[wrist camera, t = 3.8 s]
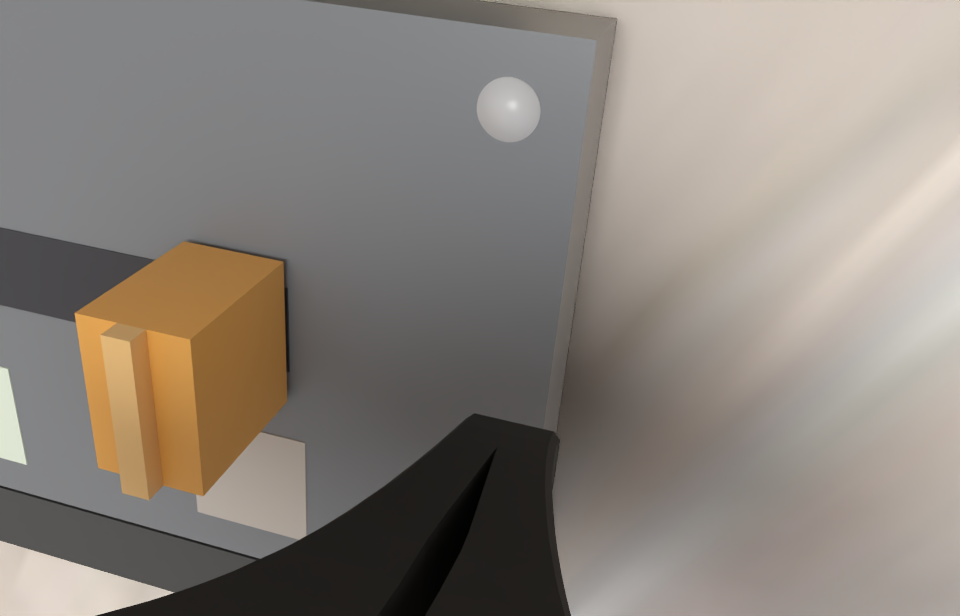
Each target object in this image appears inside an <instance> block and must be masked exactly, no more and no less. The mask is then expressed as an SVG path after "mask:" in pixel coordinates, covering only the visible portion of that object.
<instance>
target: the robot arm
mask: <svg viewBox="0 0 960 616" xmlns="http://www.w3.org/2000/svg"><path fill="white" fill-rule="evenodd" d="M559 443H560V439H559V438H558V436H557V435H556V434H555V432H554V431H550V430H546V429H541V428H537V427H532V426H528V425H524V424H519V423H515V422H511V421H506V420H502V419H498V418H493V417H489V416H485V415H480V414H476V413H474V414H472V415H471V416H469V417H467V418H466V419H465V420H464V421H463V422H461V423H460V424H459V425H458V426H457V427H456V428H455V429H454V430H452V431H451V432H450V433H449V434H448V435H447V436H446V437H445V438H443V439H442V440H441V441H440V442H439V443H438V444H436V445H435V446H434V447H433V448H432V449H430V450H429V451H428V452H427V453H426V454H424V455H423V456H422V457H421V458H420V459H418V460H417V461H416V462H414V463H413V464H412V465H411V466H409V467H408V468H407V469H405V470H404V471H403V472H402V473H400V474H399V475H398V476H396V477H395V478H394V479H393V480H391V481H390V482H389V483H387V484H386V485H385V486H383V487H382V488H380V489H379V490H378V491H376V492H375V493H373V494H372V495H370V496H369V497H367V498H366V499H364V500H363V501H361V502H360V503H359V504H357V505H356V506H354V507H353V508H351V509H350V510H348V511H347V512H345V513H344V514H342V515H341V516H339V517H337V518H336V519H334V520H333V521H331V522H329V523H328V524H326V525H324V526H323V527H321V528H319V529H318V530H316V531H314V532H312V533H310V534H309V535H307V536H305V537H303V538H301V539H300V540H298V541H296V542H294V543H292V544H290V545H289V546H287V547H285V548H282V549H280V550H278V551H276V552H274V553H272V554H270V555H268V556H265V557H263V558H261V559H259V560H257V561H254V562H252V563H250V564H248V565H246V566H243V567H241V568H239V569H237V570H235V571H232V572H230V573H227V574H225V575H222V576H220V577H217V578H214V579H212V580H209V581H207V582H204V583H201V584H199V585H196V586H193V587H190V588H187V589H184V590H181V591H179V592H176V593H173V594H170V595H167V596H164V597H161V598H157V599H154V600H151V601H148V602H144V603H141V604H137V605H133V606H130V607H126V608H122V609H119V610H115V611H111V612H108V613H104V614H100V615H97V616H571V614H570V610H569V606H568V602H567V598H566V594H565V589H564V585H563V580H562V575H561V569H560V563H559V557H558V551H557V544H556V536H555V527H554V514H553V500H552V490H553V483H554V476H555V470H556V463H557V456H558V450H559Z"/></svg>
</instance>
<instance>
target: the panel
mask: <svg viewBox="0 0 960 616" xmlns="http://www.w3.org/2000/svg"><path fill="white" fill-rule="evenodd" d="M616 22H617V19H614V18H607V17H599V16H591V15H584V14H576V13H568V12H561V11H553V10H546V9H538V8H530V7H523V6H515V5H507V4H500V3H492V2H485V1H477V0H0V485H1V486H4V487H8V488H12V489H15V490H19V491H22V492H26V493H29V494H33V495H36V496H40V497H43V498H47V499H51V500H54V501H58V502H61V503H65V504H68V505H72V506H75V507H79V508H82V509H86V510H89V511H93V512H97V513H100V514H104V515H107V516H111V517H114V518H118V519H121V520H125V521H128V522H132V523H136V524H139V525H143V526H146V527H150V528H153V529H157V530H160V531H164V532H167V533H171V534H175V535H178V536H182V537H185V538H189V539H192V540H196V541H199V542H203V543H206V544H210V545H213V546H217V547H221V548H224V549H228V550H231V551H235V552H238V553H242V554H245V555H249V556H252V557H256V558H260V559H261V558H263V557H265V556H268V555H270V554H272V553H274V552H276V551H278V550H280V549H282V548H285V547H287V546H289V545H290V544H292V543H294V542H296V541H298V540H300V539H301V538H303V537H305V536H307V535H309V534H310V533H312V532H314V531H316V530H318V529H319V528H321V527H323V526H324V525H326V524H328V523H329V522H331V521H333V520H334V519H336V518H337V517H339V516H341V515H342V514H344V513H345V512H347V511H348V510H350V509H351V508H353V507H354V506H356V505H357V504H359V503H360V502H361V501H363V500H364V499H366V498H367V497H369V496H370V495H372V494H373V493H375V492H376V491H378V490H379V489H380V488H382V487H383V486H385V485H386V484H387V483H389V482H390V481H391V480H393V479H394V478H395V477H396V476H398V475H399V474H400V473H402V472H403V471H404V470H405V469H407V468H408V467H409V466H411V465H412V464H413V463H414V462H416V461H417V460H418V459H420V458H421V457H422V456H423V455H424V454H426V453H427V452H428V451H429V450H430V449H432V448H433V447H434V446H435V445H436V444H438V443H439V442H440V441H441V440H442V439H443V438H445V437H446V436H447V435H448V434H449V433H450V432H451V431H452V430H454V429H455V428H456V427H457V426H458V425H459V424H460V423H461V422H463V421H464V420H465V419H466V418H467V417H469V416H471V415H472V414H474V413H476V414H480V415H485V416H489V417H493V418H498V419H502V420H506V421H511V422H515V423H519V424H524V425H528V426H532V427H537V428H541V429H546V430H550V431H554V432H555V434H556V431H557V424H558V418H559V411H560V404H561V397H562V390H563V383H564V377H565V370H566V363H567V356H568V349H569V343H570V336H571V329H572V322H573V315H574V308H575V302H576V295H577V288H578V281H579V274H580V267H581V261H582V254H583V247H584V240H585V233H586V226H587V220H588V213H589V206H590V199H591V192H592V185H593V179H594V172H595V165H596V158H597V151H598V144H599V138H600V131H601V124H602V117H603V110H604V104H605V97H606V90H607V83H608V76H609V69H610V63H611V56H612V49H613V42H614V35H615V28H616ZM183 241H185V242H190V243H195V244H200V245H205V246H209V247H214V248H219V249H224V250H229V251H234V252H239V253H244V254H249V255H253V256H258V257H263V258H268V259H273V260H278V261H283V262H284V297H285V335H286V372H287V402H286V404H285V405H284V406H283V407H282V408H281V409H280V410H279V411H278V413H277V414H276V415H275V416H274V417H273V418H272V419H271V420H270V422H269V423H268V424H267V425H266V426H265V427H264V428H263V430H262V431H261V432H260V433H259V434H258V435H257V436H256V437H255V439H254V440H253V441H252V442H251V443H250V444H249V445H248V447H247V448H246V449H245V450H244V451H243V452H242V453H241V454H240V456H239V457H238V458H237V459H236V460H235V461H234V462H233V464H232V465H231V466H230V467H229V468H228V469H227V470H226V471H225V473H224V474H223V475H222V476H221V477H220V478H219V479H218V481H217V482H216V483H215V484H214V485H213V486H212V487H211V488H210V490H209V491H208V492H207V493H206V494H205V495H204V496H200V495H196V494H192V493H189V492H185V491H181V490H178V489H174V488H170V487H167V486H162V487H161V489H160V490H159V491H158V492H157V493H156V494H155V495H154V496H153V497H152V498H151V499H150V500H146V499H142V498H138V497H135V496H131V495H127V494H124V493H122V488H121V481H120V474H118V473H115V472H111V471H107V470H104V469H100V468H98V463H97V457H96V450H95V444H94V437H93V431H92V424H91V418H90V411H89V405H88V398H87V391H86V385H85V378H84V372H83V365H82V359H81V352H80V346H79V339H78V333H77V326H76V319H75V312H77V311H78V310H80V309H81V308H83V307H84V306H86V305H88V304H89V303H91V302H92V301H94V300H95V299H97V298H98V297H100V296H101V295H103V294H104V293H106V292H107V291H109V290H110V289H112V288H113V287H115V286H116V285H118V284H119V283H121V282H123V281H124V280H126V279H127V278H129V277H130V276H132V275H133V274H135V273H136V272H138V271H139V270H141V269H142V268H144V267H145V266H147V265H148V264H150V263H151V262H153V261H154V260H156V259H158V258H159V257H161V256H162V255H164V254H165V253H167V252H168V251H170V250H171V249H173V248H174V247H176V246H177V245H179V244H180V243H182V242H183Z"/></svg>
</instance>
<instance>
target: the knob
mask: <svg viewBox="0 0 960 616" xmlns="http://www.w3.org/2000/svg"><path fill="white" fill-rule="evenodd" d="M75 319H76V326H77V333H78V339H79V346H80V352H81V359H82V365H83V372H84V378H85V385H86V391H87V398H88V405H89V411H90V418H91V424H92V431H93V437H94V444H95V450H96V457H97V463H98V468H100V469H104V470H107V471H111V472H115V473H118V474H120V481H121V488H122V493H124V494H127V495H131V496H135V497H138V498H142V499H146V500H150V499H151V498H152V497H153V496H154V495H155V494H156V493H157V492H158V491H159V490H160V489H161V487H162V486H167V487H170V488H174V489H178V490H181V491H185V492H189V493H192V494H196V495H200V496H204V495H205V494H206V493H207V492H208V491H209V490H210V488H211V487H212V486H213V485H214V484H215V483H216V482H217V481H218V479H219V478H220V477H221V476H222V475H223V474H224V473H225V471H226V470H227V469H228V468H229V467H230V466H231V465H232V464H233V462H234V461H235V460H236V459H237V458H238V457H239V456H240V454H241V453H242V452H243V451H244V450H245V449H246V448H247V447H248V445H249V444H250V443H251V442H252V441H253V440H254V439H255V437H256V436H257V435H258V434H259V433H260V432H261V431H262V430H263V428H264V427H265V426H266V425H267V424H268V423H269V422H270V420H271V419H272V418H273V417H274V416H275V415H276V414H277V413H278V411H279V410H280V409H281V408H282V407H283V406H284V405H285V404H286V402H287V372H286V335H285V297H284V262H283V261H278V260H273V259H268V258H263V257H258V256H253V255H249V254H244V253H239V252H234V251H229V250H224V249H219V248H214V247H209V246H205V245H200V244H195V243H190V242H185V241H183V242H182V243H180V244H179V245H177V246H176V247H174V248H173V249H171V250H170V251H168V252H167V253H165V254H164V255H162V256H161V257H159V258H158V259H156V260H154V261H153V262H151V263H150V264H148V265H147V266H145V267H144V268H142V269H141V270H139V271H138V272H136V273H135V274H133V275H132V276H130V277H129V278H127V279H126V280H124V281H123V282H121V283H119V284H118V285H116V286H115V287H113V288H112V289H110V290H109V291H107V292H106V293H104V294H103V295H101V296H100V297H98V298H97V299H95V300H94V301H92V302H91V303H89V304H88V305H86V306H84V307H83V308H81V309H80V310H78V311H77V312H75Z"/></svg>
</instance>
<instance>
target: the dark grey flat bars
mask: <svg viewBox="0 0 960 616" xmlns="http://www.w3.org/2000/svg"><path fill="white" fill-rule="evenodd" d="M0 541H4V542H7V543H10V544H14V545H17V546H20V547H24V548H27V549H31V550H34V551H37V552H41V553H44V554H47V555H51V556H54V557H57V558H61V559H64V560H67V561H71V562H74V563H78V564H81V565H84V566H88V567H91V568H94V569H98V570H101V571H104V572H108V573H111V574H115V575H118V576H121V577H125V578H128V579H131V580H135V581H138V582H141V583H145V584H148V585H152V586H155V587H158V588H162V589H165V590H168V591H172V592H175V593H176V592H179V591H181V590H184V589H187V588H190V587H193V586H196V585H199V584H201V583H204V582H207V581H209V580H212V579H214V578H217V577H220V576H222V575H225V574H227V573H230V572H232V571H235V570H237V569H239V568H241V567H243V566H246V565H248V564H250V563H252V562H254V561H257V560H259V559H260V558H256V557H252V556H249V555H245V554H242V553H238V552H235V551H231V550H228V549H224V548H221V547H217V546H213V545H210V544H206V543H203V542H199V541H196V540H192V539H189V538H185V537H182V536H178V535H175V534H171V533H167V532H164V531H160V530H157V529H153V528H150V527H146V526H143V525H139V524H136V523H132V522H128V521H125V520H121V519H118V518H114V517H111V516H107V515H104V514H100V513H97V512H93V511H89V510H86V509H82V508H79V507H75V506H72V505H68V504H65V503H61V502H58V501H54V500H51V499H47V498H43V497H40V496H36V495H33V494H29V493H26V492H22V491H19V490H15V489H12V488H8V487H4V486H1V485H0Z"/></svg>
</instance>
